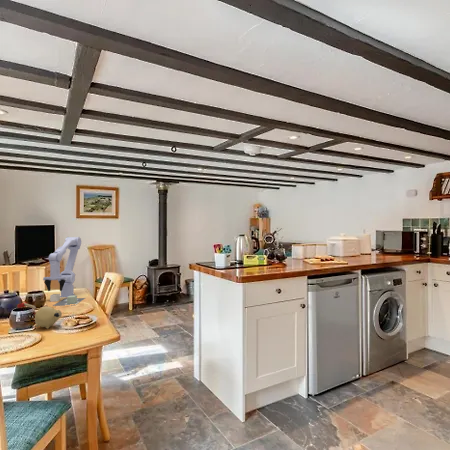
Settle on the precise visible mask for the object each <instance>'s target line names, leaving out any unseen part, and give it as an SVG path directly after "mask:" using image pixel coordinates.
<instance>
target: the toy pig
mask: <svg viewBox="0 0 450 450" xmlns="http://www.w3.org/2000/svg"><path fill="white" fill-rule="evenodd" d="M34 314H35V318H34V320H35V321H34V323H35V327H36V328H39V327H40V328H46V329H48V330H49V329H50V328H51V327H52V326H54V325H55V324H56V322H58V320H59V319H60V318H62V316H63V313H62V311H61V310H60V309H55V308H54V307H53V306H52V307H51V306H42V307H40V308H39V309H38V310H37V311H36V312H35V313H34Z"/></svg>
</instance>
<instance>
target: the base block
mask: <svg viewBox="0 0 450 450" xmlns="http://www.w3.org/2000/svg"><path fill="white" fill-rule="evenodd" d="M66 298H67V304H75V303H77V298H78V295H73V296H68V297H66Z"/></svg>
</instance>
